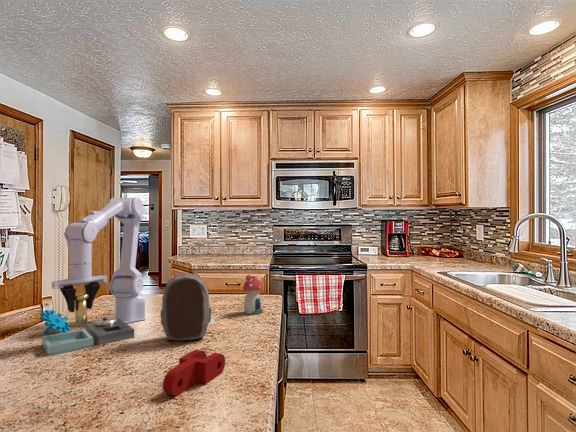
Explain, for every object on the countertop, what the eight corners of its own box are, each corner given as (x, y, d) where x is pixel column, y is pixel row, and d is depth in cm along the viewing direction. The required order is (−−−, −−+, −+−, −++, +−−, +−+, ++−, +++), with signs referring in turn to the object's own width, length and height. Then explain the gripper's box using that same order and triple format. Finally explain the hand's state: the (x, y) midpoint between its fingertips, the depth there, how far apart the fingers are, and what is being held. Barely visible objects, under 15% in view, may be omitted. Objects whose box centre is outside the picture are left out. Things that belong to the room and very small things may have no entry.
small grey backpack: (158, 344, 106) (158, 275, 107) (163, 335, 115) (163, 271, 115) (211, 341, 109) (211, 273, 109) (212, 332, 117) (212, 269, 117)
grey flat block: (118, 325, 125) (118, 312, 125) (134, 337, 112) (134, 323, 112) (85, 331, 118) (85, 318, 118) (98, 344, 106) (98, 330, 106)
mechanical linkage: (200, 367, 90) (200, 346, 90) (225, 371, 88) (225, 350, 88) (153, 396, 76) (153, 372, 76) (181, 402, 73) (181, 377, 73)
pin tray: (84, 337, 113) (84, 329, 113) (93, 346, 104) (93, 337, 104) (41, 345, 106) (41, 336, 106) (47, 356, 97) (47, 346, 97)
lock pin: (90, 320, 110) (89, 292, 110) (89, 324, 106) (88, 295, 106) (74, 322, 108) (73, 293, 108) (71, 326, 104) (70, 297, 104)
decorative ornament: (248, 316, 136) (248, 276, 136) (238, 313, 140) (238, 274, 141) (267, 312, 142) (267, 273, 142) (257, 309, 147) (256, 271, 147)
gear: (59, 333, 112) (38, 309, 113) (44, 347, 111) (23, 323, 112) (79, 327, 122) (60, 306, 123) (66, 340, 122) (46, 318, 123)
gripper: (99, 260, 116) (98, 303, 115) (47, 265, 104) (47, 312, 104) (110, 261, 111) (110, 306, 111) (57, 266, 100) (57, 316, 100)
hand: (80, 310), depth 107 cm, fingers closed on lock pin, 4 cm apart
